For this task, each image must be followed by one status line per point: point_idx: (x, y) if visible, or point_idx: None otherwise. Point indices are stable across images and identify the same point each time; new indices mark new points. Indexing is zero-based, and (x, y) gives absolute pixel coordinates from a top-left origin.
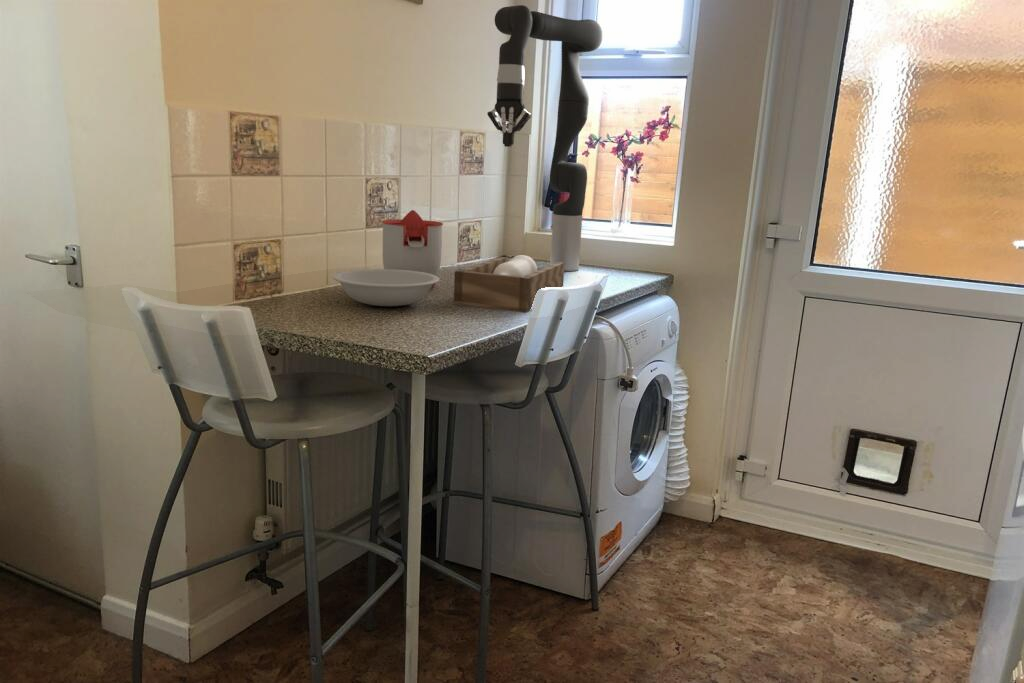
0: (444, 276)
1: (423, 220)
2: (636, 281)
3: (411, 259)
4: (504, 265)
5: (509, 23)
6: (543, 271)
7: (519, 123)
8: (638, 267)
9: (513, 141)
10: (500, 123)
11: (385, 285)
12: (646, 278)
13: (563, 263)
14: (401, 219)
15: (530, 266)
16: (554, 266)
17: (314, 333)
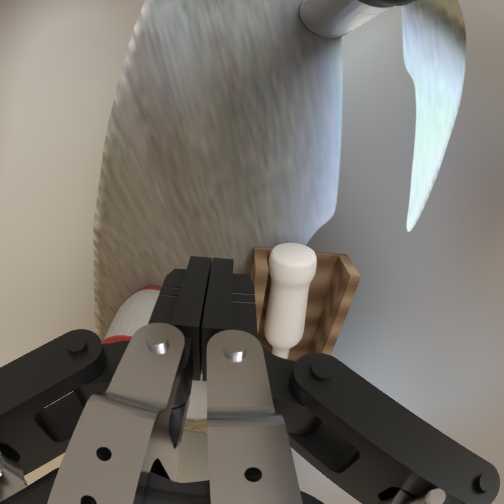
0: (150, 205)
1: (128, 337)
2: (441, 114)
3: None
4: (282, 348)
5: None
6: (330, 352)
7: (335, 463)
8: None
9: (253, 296)
10: (51, 396)
11: (206, 418)
12: (451, 80)
13: (358, 281)
14: (102, 342)
15: (309, 284)
16: (344, 315)
17: (198, 429)
